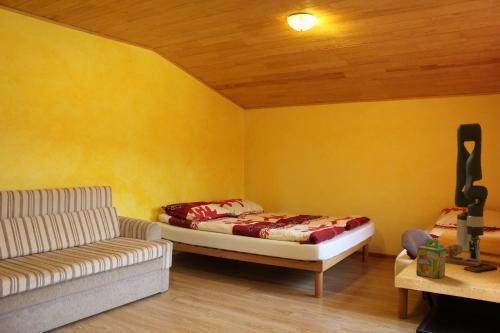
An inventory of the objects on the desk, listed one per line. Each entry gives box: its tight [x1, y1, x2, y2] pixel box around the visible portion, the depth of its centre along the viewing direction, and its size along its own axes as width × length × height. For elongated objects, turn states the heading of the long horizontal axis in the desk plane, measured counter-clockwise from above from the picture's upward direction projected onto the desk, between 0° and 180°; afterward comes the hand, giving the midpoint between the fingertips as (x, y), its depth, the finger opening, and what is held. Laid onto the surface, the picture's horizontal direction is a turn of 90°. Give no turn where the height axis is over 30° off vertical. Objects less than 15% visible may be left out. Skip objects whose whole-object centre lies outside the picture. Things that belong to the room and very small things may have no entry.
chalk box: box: [416, 238, 447, 280], centre depth 176 cm, size 9×9×15 cm
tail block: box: [468, 247, 481, 260], centre depth 211 cm, size 4×4×6 cm
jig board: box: [445, 254, 483, 267], centre depth 206 cm, size 12×22×2 cm, turn 51°
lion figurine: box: [438, 243, 463, 259], centre depth 209 cm, size 15×5×9 cm, turn 41°
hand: (474, 259), depth 211 cm, fingers closed on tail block, 4 cm apart
